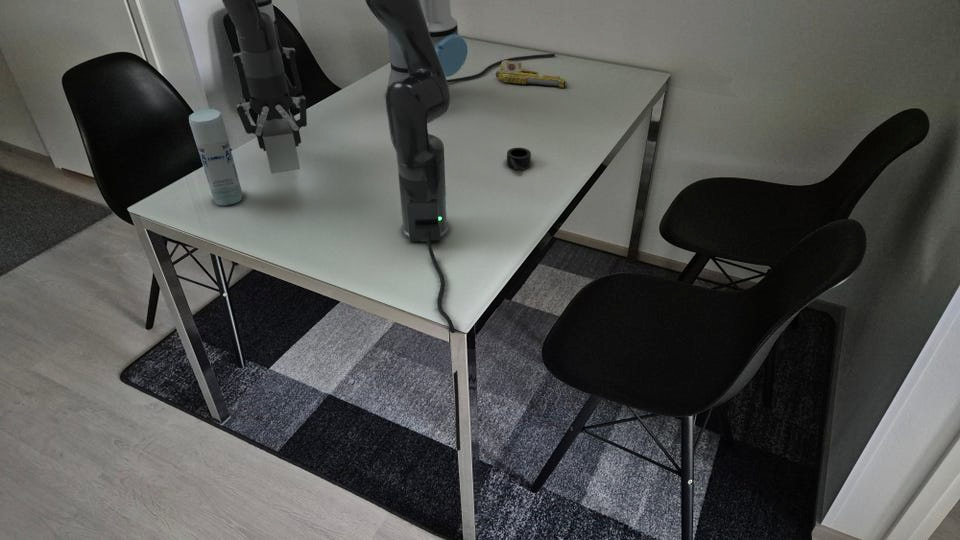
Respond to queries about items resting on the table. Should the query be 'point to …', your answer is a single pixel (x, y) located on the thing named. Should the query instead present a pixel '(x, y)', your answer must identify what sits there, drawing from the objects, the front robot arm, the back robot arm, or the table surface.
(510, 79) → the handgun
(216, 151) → the spray paint can
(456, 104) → the table surface
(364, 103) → the table surface
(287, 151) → the bar
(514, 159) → the duct tape
